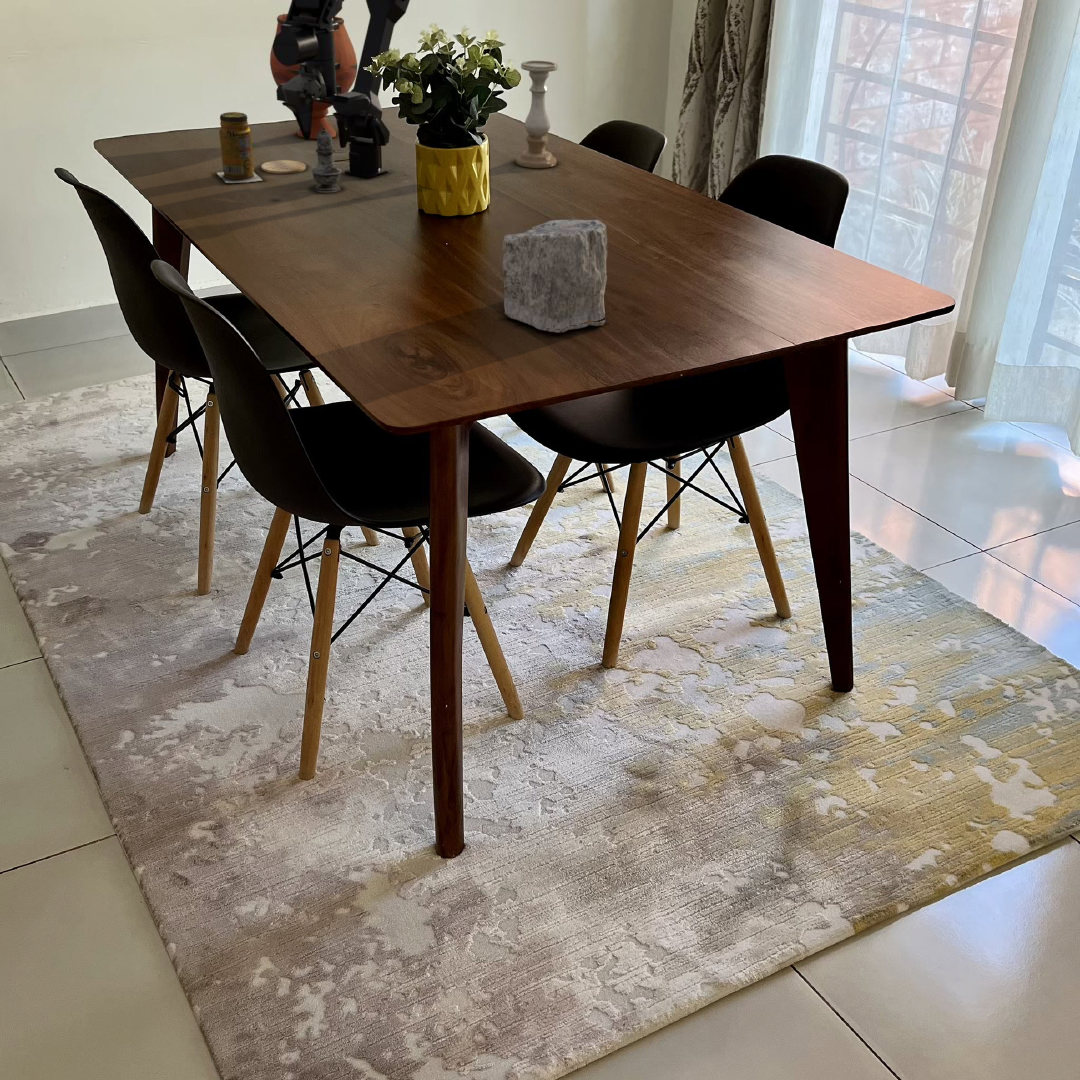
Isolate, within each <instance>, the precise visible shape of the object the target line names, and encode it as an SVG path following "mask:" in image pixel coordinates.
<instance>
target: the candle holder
mask: <svg viewBox="0 0 1080 1080" xmlns="http://www.w3.org/2000/svg"><path fill="white" fill-rule="evenodd" d="M520 69H522V70H523V71H528V76H529V78H530V79H531V81H532V82H531V86H530V87H529V92H531V101H530V102H531V103H530V109H529V111H528V114H527V116H526V118H525V121H524V129H525V131H526V133H527V134H528V135H527V136H526V137H525V141H526V142H527V145H528V149H526V150H522V151H521V153H520V155H517V156H516V157H515V163H516V164H517V165H518V166H520V167H524V168H529V169H530V168H531V169H532V168H533V169H546V168H553V167H555V166H556V165H557V163H558V162H557V160H558V159H557V158H556V157H555V156H553V154H552V152H550V151H548V150H546V149H545V147H546V144H547V143H548V141H549V138H548V137H547V136H546V135H547V134H548V133H549V131H550V128H551V121H550V118H549V116H548V113H547V110H546V93H547V92H548V91H549V90H548V88H547V86H546V81H547V79H548V78H550V77H549V76H550V72H554V71H557V70H558V69H559V67H558V63H556V62H553V61H547V60H525V61H522V62H521V63H520Z"/></svg>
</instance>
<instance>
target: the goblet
mask: <svg viewBox="0 0 1080 1080" xmlns="http://www.w3.org/2000/svg"><path fill="white" fill-rule="evenodd" d="M287 14H288V13H283V14H279V15H278V16H277V17H276V21H277V24H276V29H275V34H274V38H273V40H274V39H275V37H276V36H277V34H279V33H280V32H281V25H283V24H285V21H286V18H287ZM299 17H301V15H300V16H299ZM316 19H317V18H316ZM333 20H334V21H335V22H337V23H338V25H339V26H340V28H339V29H337V30H334V46H335V62H336V63H340V69H338V70H336V82H337V86H341V91H342V92H339V93H337V95H338V94H342V93H347V92H350V91H351V90H350V89H352V87H353V86H354V84H355V80H356V76H357V72H358V60H357V59H358V58H357V54H356V52H355V48H354V45H353V42H352V40H351V37H350V36H349V33H348V30H347V28H346V25H345V24H344V23H345V19H343V17H338V16H335V17H334V18H333ZM273 43H274V41H273V42H272V45H271V49H270V54H269V66H270V71H271V74H272V78H273V80H274V83H275V85H276V86H277V87H278V86H279V84H283V83H287V82H288V81H289V80H291V79H292V78H293V77H295V76H297V75H299V67H300V64H303V63H300V64H296V65H293V66H285V65H283V64H281V63H280V62H279V61H278V60H277V58H276V57H275V55H274V52H273ZM325 98H326V97H325ZM327 99H329V98H327ZM331 107H333V104H328V103H323V102H317V101H313V111H312V126H311V135H310V140H317V134H318V133H319V132H320V131H322V130H323V129H322V128H323V126H324V127H325V128H326V129H325V130H326V131H328V132H330V133H331V135H332V138H334V137H337V132H336V130H335V129H334V127H333V126H332V125H331V123H330V122H329V121H328V119H327V117H326V116H327V115H328V114H329V108H331ZM297 136H298V137H299V138H300V137H301V138H303V139H304V137H303V135H302V132H301V130H300V128H299V129H298V131H297Z"/></svg>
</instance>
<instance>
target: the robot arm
mask: <svg viewBox="0 0 1080 1080" xmlns="http://www.w3.org/2000/svg"><path fill="white" fill-rule="evenodd" d="M410 1H411V0H365V3H366V6H367V9H368V13H369V21H368V24H367V28H366V33H365V38H364V42H363V45H362V51H361V54H360V59H359V63H358V66H357V74H356V78H355V81H354V84H353V88H351V90H349V91H348V92H347V93H342V94H338V95H337V93H339V92H342V91H341V86H337V82H336V70H338V69H340V63H336V62H335V46H334V30H337V29H339V28H340V26H339V25H338V23H337V22H335V21H334V20H333V18H334V17H337V15H338V14H339V13H340V12H341V11H342V9H343V3H344V2H345V0H291V2H290V5H289V8H288V12H287V13H286V14H287V18H286V21H285V24H283V25H281V32H280V33H279V34H277V36H276V37H275V36H274V38H275V39H274V38H273V42H274V43H273V42H272V45H273V52H274V55H275V57H276V58H277V60H278V61H279V62H280V63H281V64H283V65H285V66H293V65H296V64H300V63H303V64H300V67H299V75H297V76H295V77H293V78H292V79H291V80H289V81H288V82H287V83H283V84H279V86H277V88H276V90H275V91H276V92H275V93H276V101H279V102H281V105H282V106H284V107H286V108H287V109H289V110H290V111H291V112H292V115H293V116H294V118H295V120H296V122H297V125H298V128H299V129H300V130H301V132H302V135H303V137H304V138H303V137H302V138H303V140H304V141H310V140H311V139H310V135H311V126H312V111H313V101H317V102H323V103H328V104H333V106H332V108H333V109H334V111H335V112H332V116H333V117H334V118H335V120H336V125H337V131H338V132H337V133H338V142H339V147H340V149H345V148H346V147H347V144H348V143H349V146H348V147H349V149H348V150H349V151H348V165H349V168H348V169H345V170H344V173H345V174H347V175H352V176H357V177H361V178H364V179H371V178H374V177H377V176H382V175H385V174H388V173H389V170H388V169H385V168H383V161H382V147H386V146H387V144H389V142H390V136H391V132H390V130H389V129H388V127H387V125H386V124H385V123H384V121H383V120H382V117H383V109H382V106H381V103H380V99H379V93H380V89H381V84H382V80H383V76H382V75H378V76H377V77H375V78H372V73H371V72H370V71H367V70H364V69H363V67H368V66H370V65H372V62H373V60H372V58H371V57H376V56H378V55H380V54H381V53H383V52H386V51H388V52H389V51H390V47H391V41H392V37H393V34H394V30H395V25H397V23H398V22H399V21H400V20H401V19H402V17H404V16H405V14H407V13H406V12H407V11H408V8H409V4H410ZM300 15H301V17H299V16H300ZM316 18H317V19H316ZM325 97H326V98H325ZM327 98H329V99H327Z"/></svg>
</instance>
